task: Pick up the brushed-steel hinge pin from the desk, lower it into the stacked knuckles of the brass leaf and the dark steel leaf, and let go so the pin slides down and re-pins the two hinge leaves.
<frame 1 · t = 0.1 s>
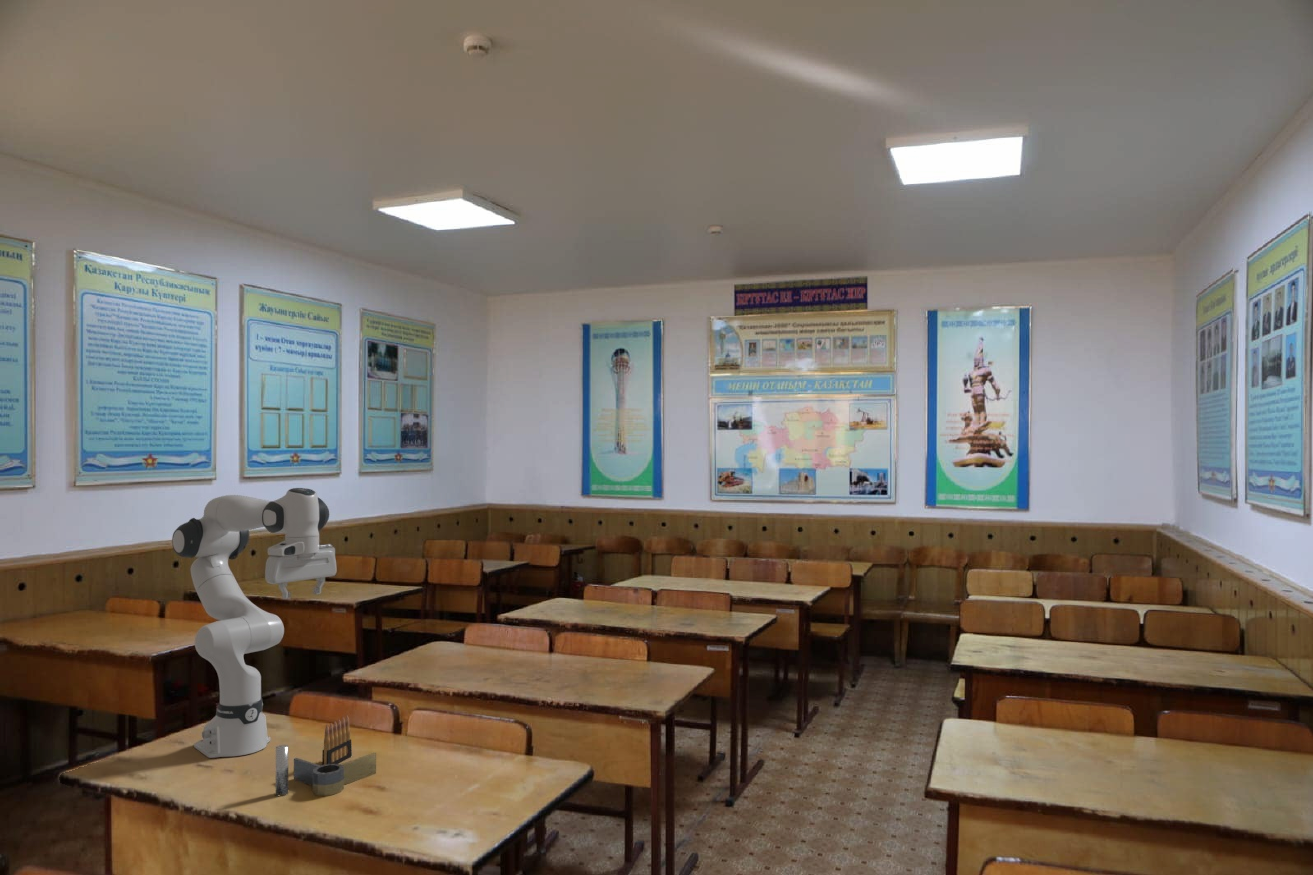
hand: (302, 596, 239), 48 cm above the table, tool pointing down, fingers open, 8 cm apart
ammunition clip: (337, 763, 243), on the table
brass leaf: (328, 790, 223), on the table
hinge pin: (281, 793, 221), on the table
steel leaf: (328, 790, 223), resting on brass leaf
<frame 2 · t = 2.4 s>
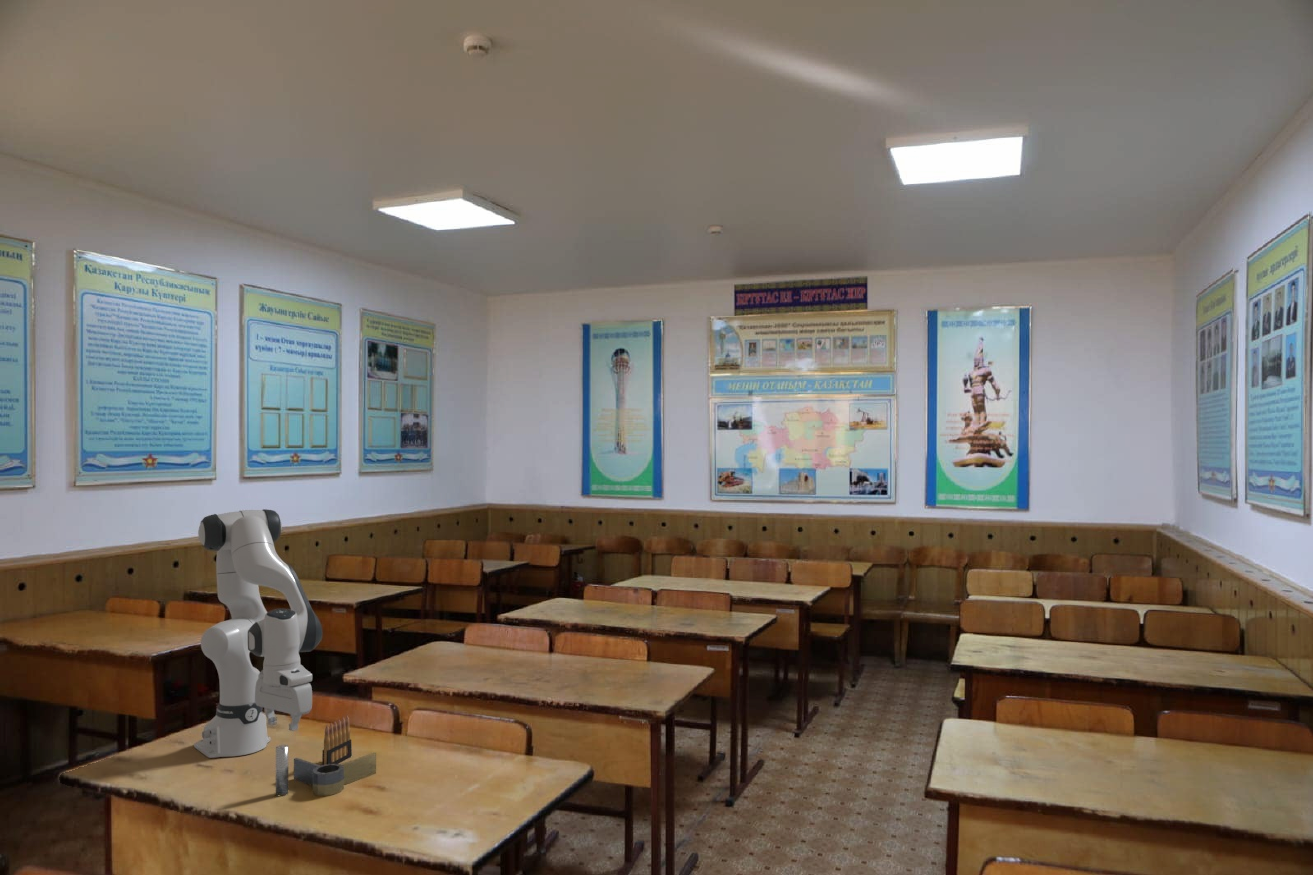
hand: (282, 727, 221), 17 cm above the table, tool pointing down, fingers open, 8 cm apart
nothing on the table moved.
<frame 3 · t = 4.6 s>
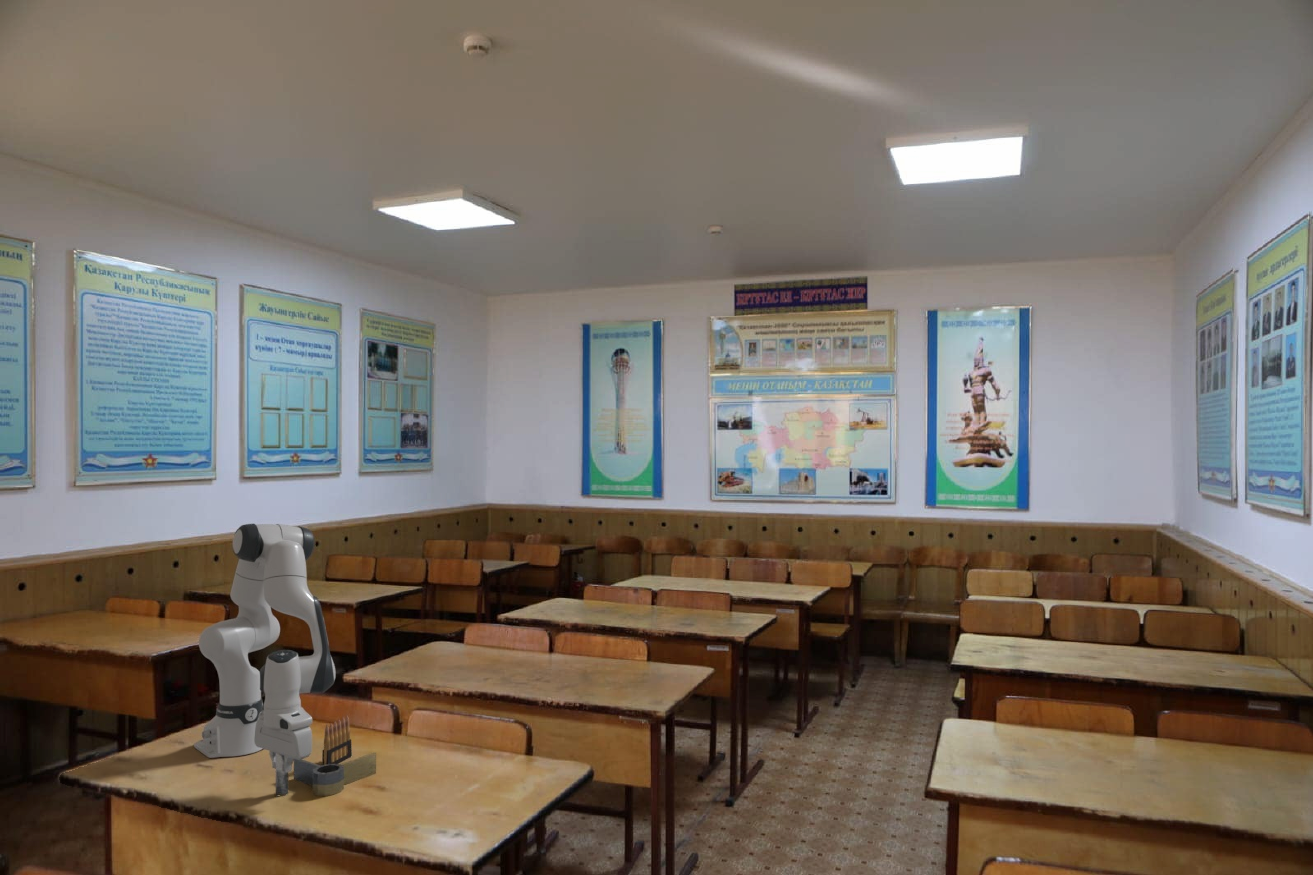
hand: (282, 769, 221), 6 cm above the table, tool pointing down, fingers closed on hinge pin, 3 cm apart
hinge pin: (281, 793, 221), on the table, touching gripper
everything else where it was.
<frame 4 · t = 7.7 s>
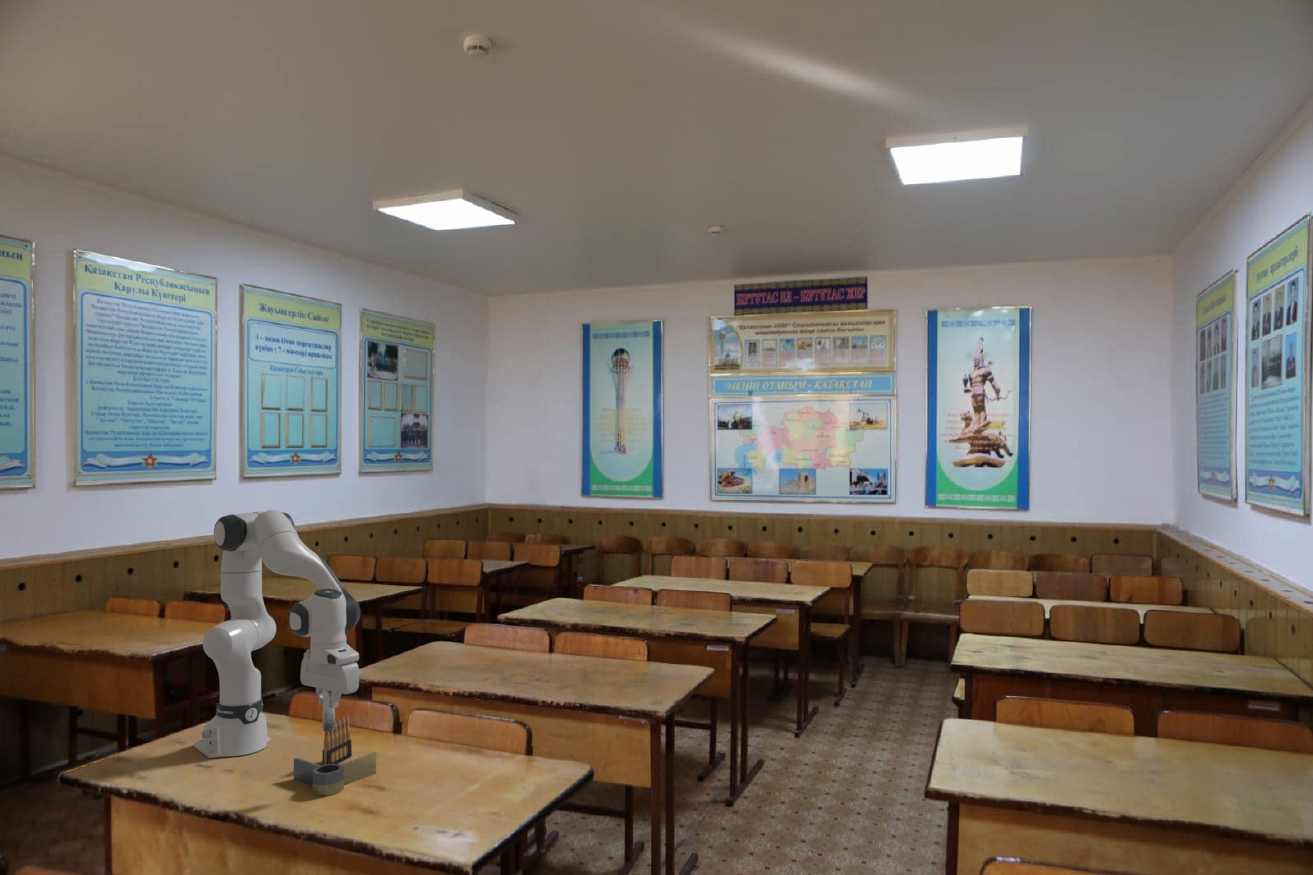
hand: (328, 705, 223), 22 cm above the table, tool pointing down, fingers closed on hinge pin, 3 cm apart
hinge pin: (329, 729, 223), point 16 cm above the table, touching gripper
everything else where it was.
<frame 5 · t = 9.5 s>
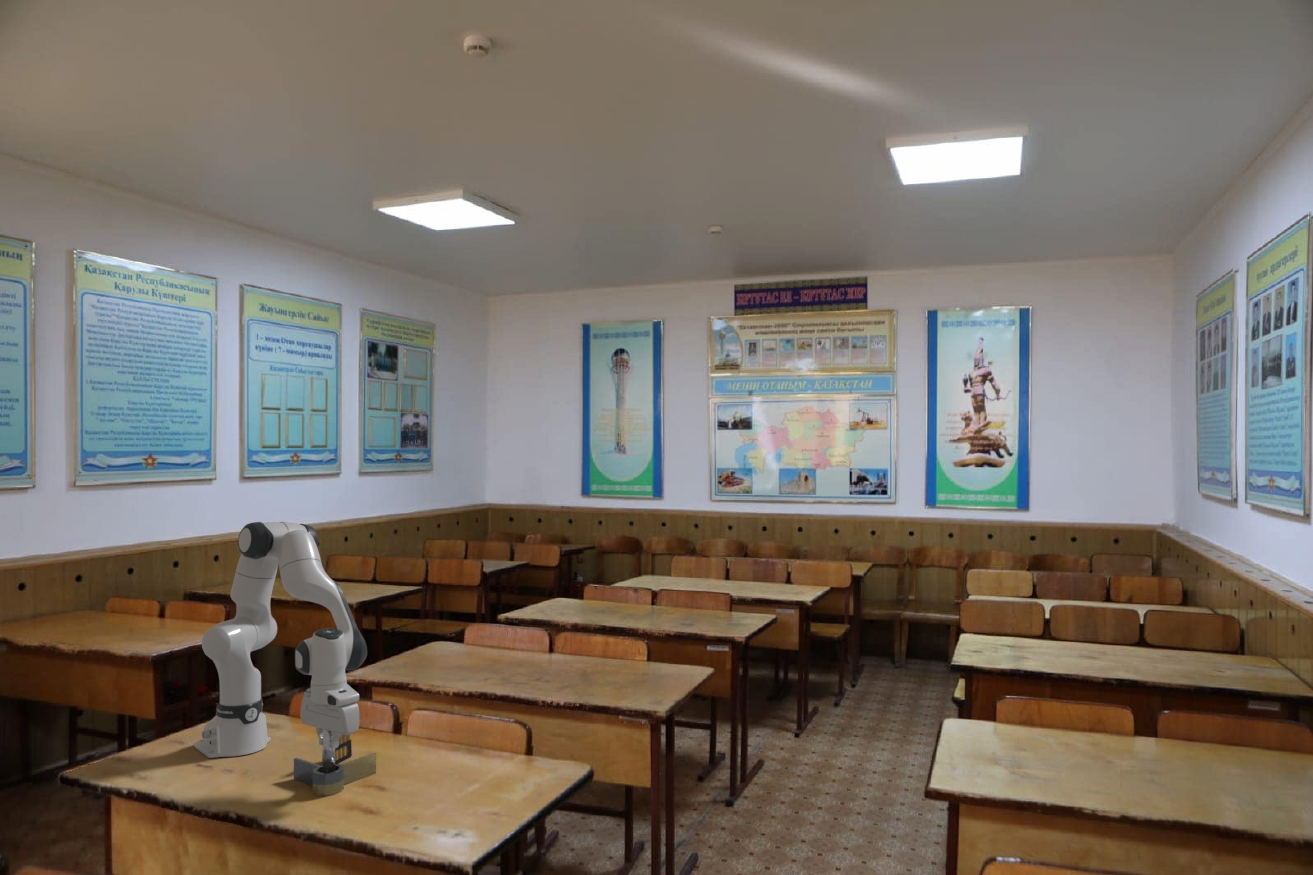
hand: (328, 745, 223), 11 cm above the table, tool pointing down, fingers closed on hinge pin, 3 cm apart
hinge pin: (328, 769, 223), point 5 cm above the table, touching gripper
everything else where it was.
when the fingers open (9 cm above the table, at t = 11.0 s): hinge pin drops 3 cm, resting in brass leaf.
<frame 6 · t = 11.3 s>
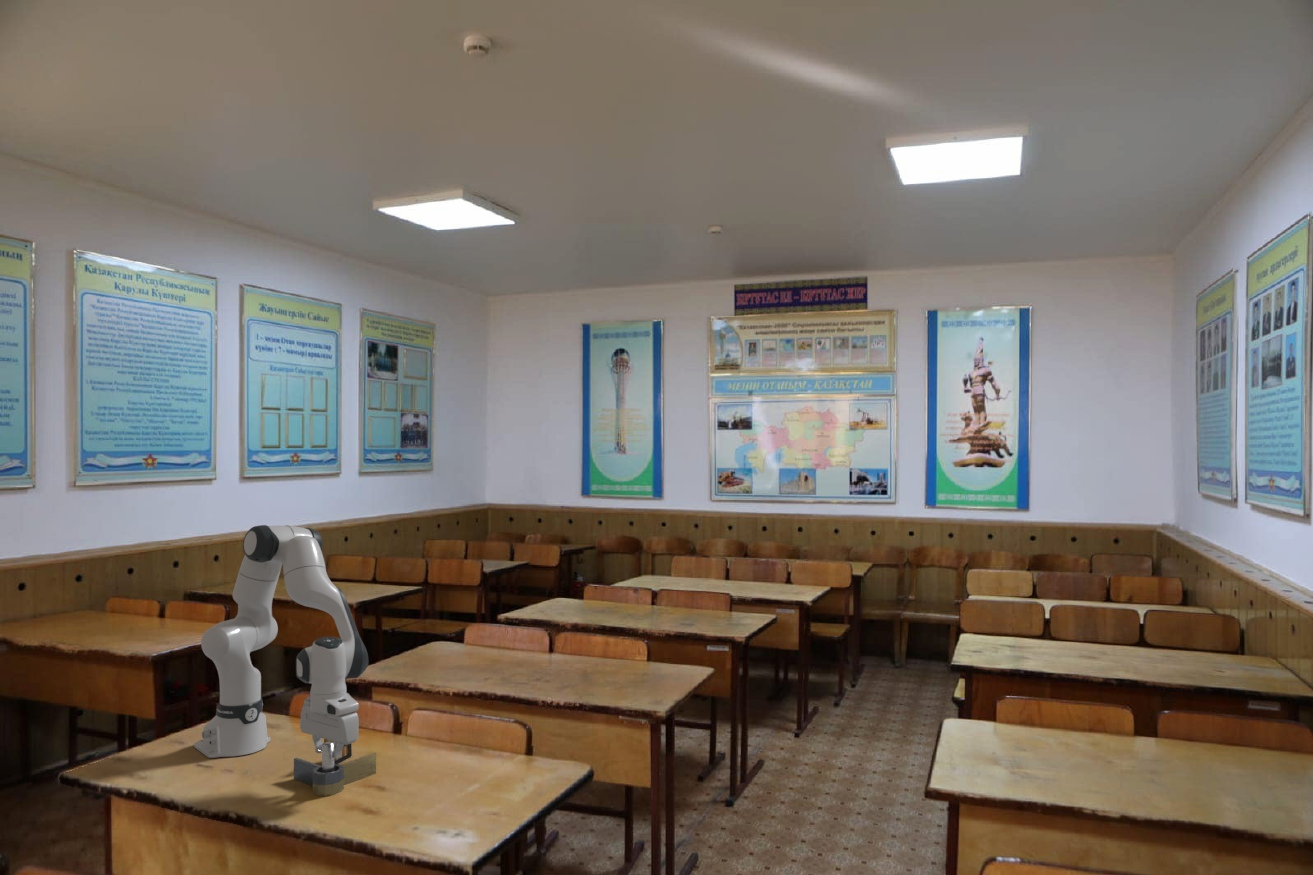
hand: (328, 754, 223), 9 cm above the table, tool pointing down, fingers open, 6 cm apart
hinge pin: (328, 790, 223), resting in brass leaf
everything else where it was.
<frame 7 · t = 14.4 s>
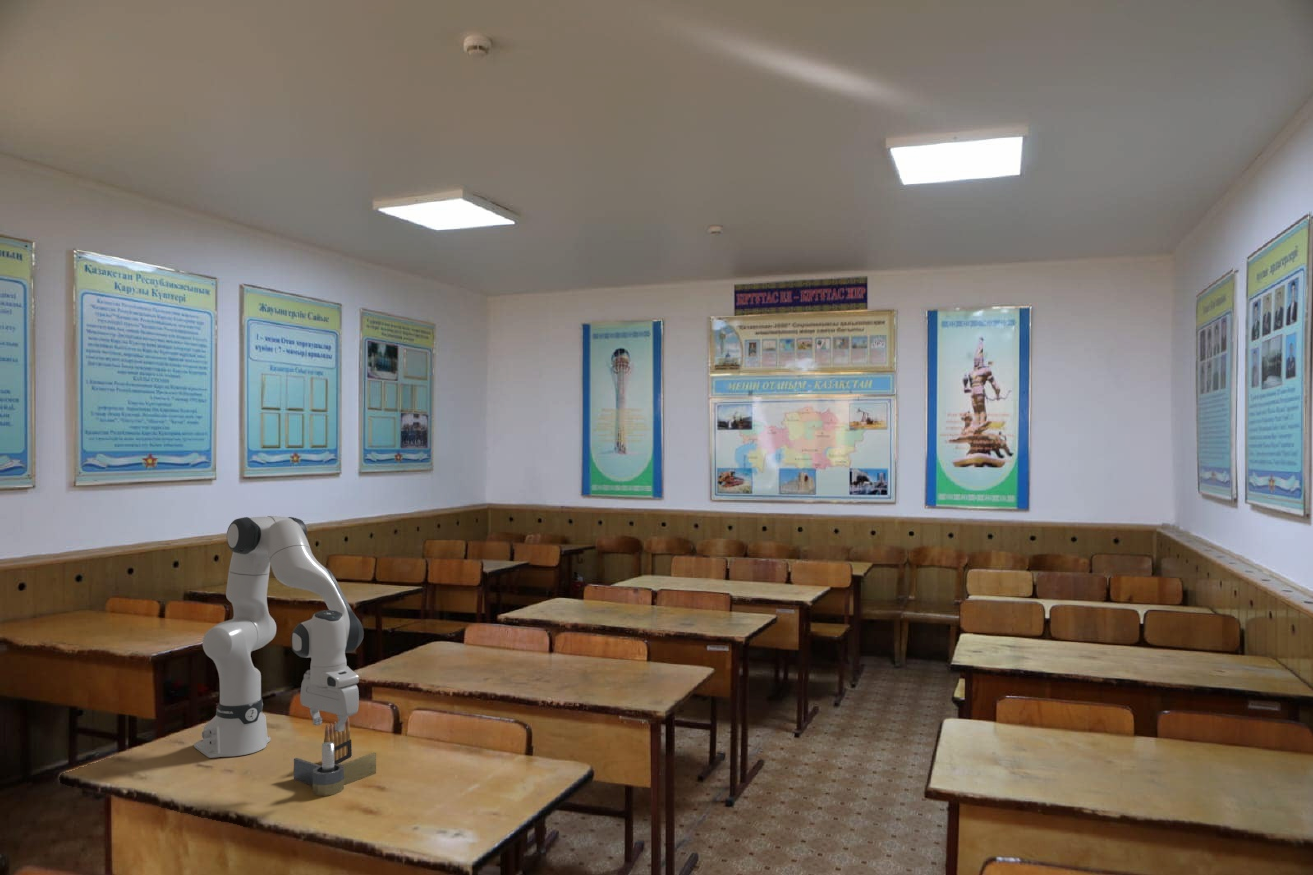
hand: (328, 727, 223), 16 cm above the table, tool pointing down, fingers open, 8 cm apart
nothing on the table moved.
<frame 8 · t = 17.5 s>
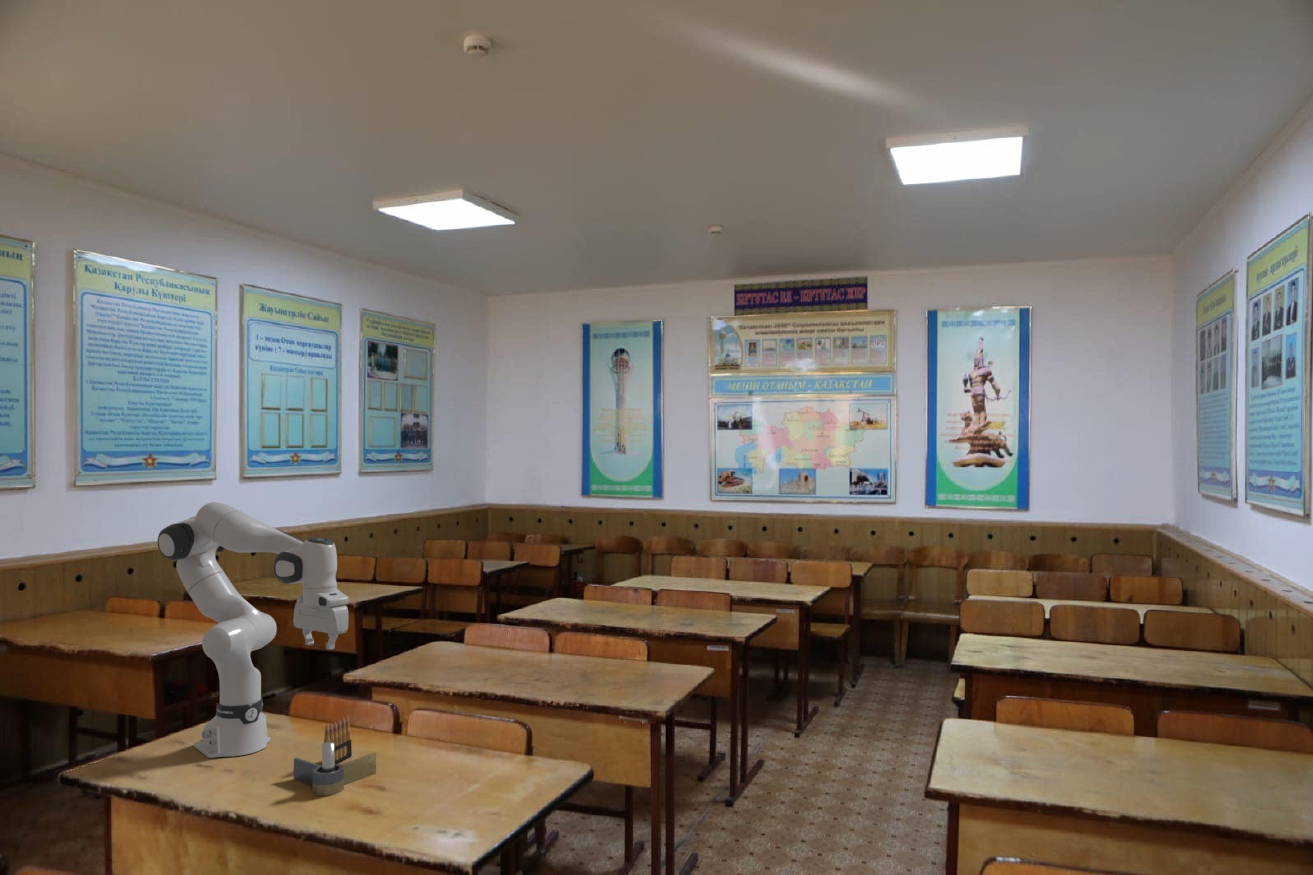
hand: (319, 646, 237), 34 cm above the table, tool pointing down, fingers open, 8 cm apart
nothing on the table moved.
at the end: hinge pin 0.1 cm off-centre on the brass leaf, point 0.0 cm above the brass leaf's base; hinge pin tilted 0°; the gripper is holding nothing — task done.
